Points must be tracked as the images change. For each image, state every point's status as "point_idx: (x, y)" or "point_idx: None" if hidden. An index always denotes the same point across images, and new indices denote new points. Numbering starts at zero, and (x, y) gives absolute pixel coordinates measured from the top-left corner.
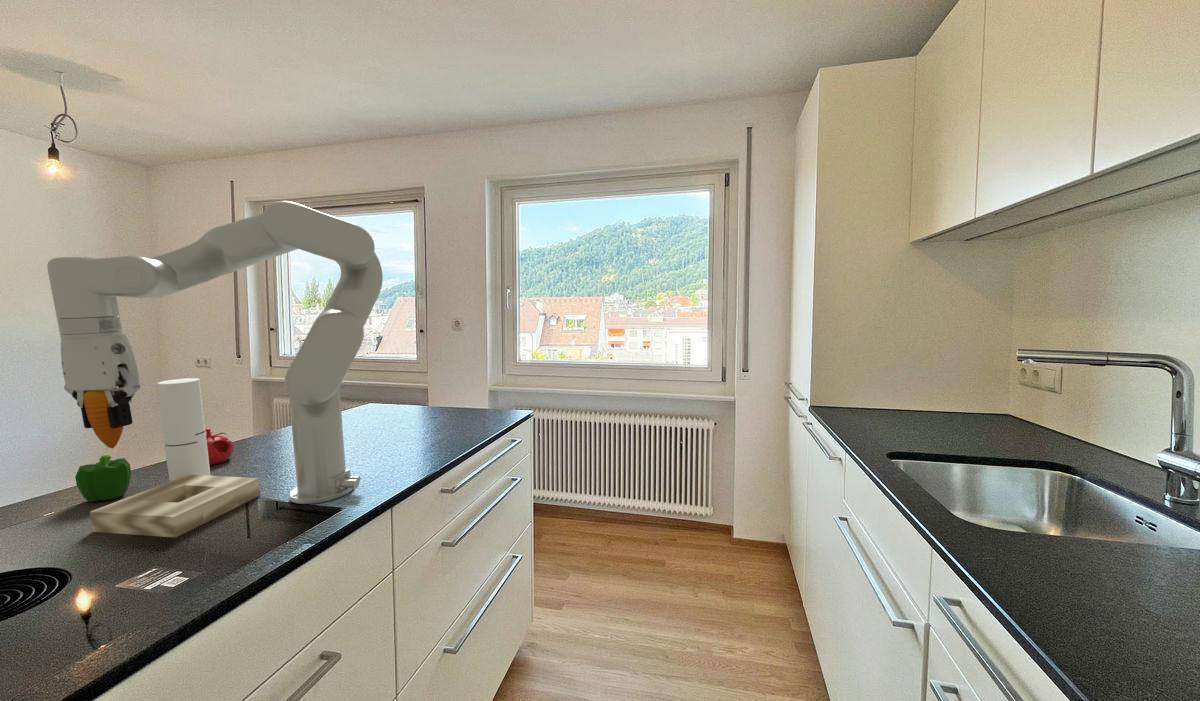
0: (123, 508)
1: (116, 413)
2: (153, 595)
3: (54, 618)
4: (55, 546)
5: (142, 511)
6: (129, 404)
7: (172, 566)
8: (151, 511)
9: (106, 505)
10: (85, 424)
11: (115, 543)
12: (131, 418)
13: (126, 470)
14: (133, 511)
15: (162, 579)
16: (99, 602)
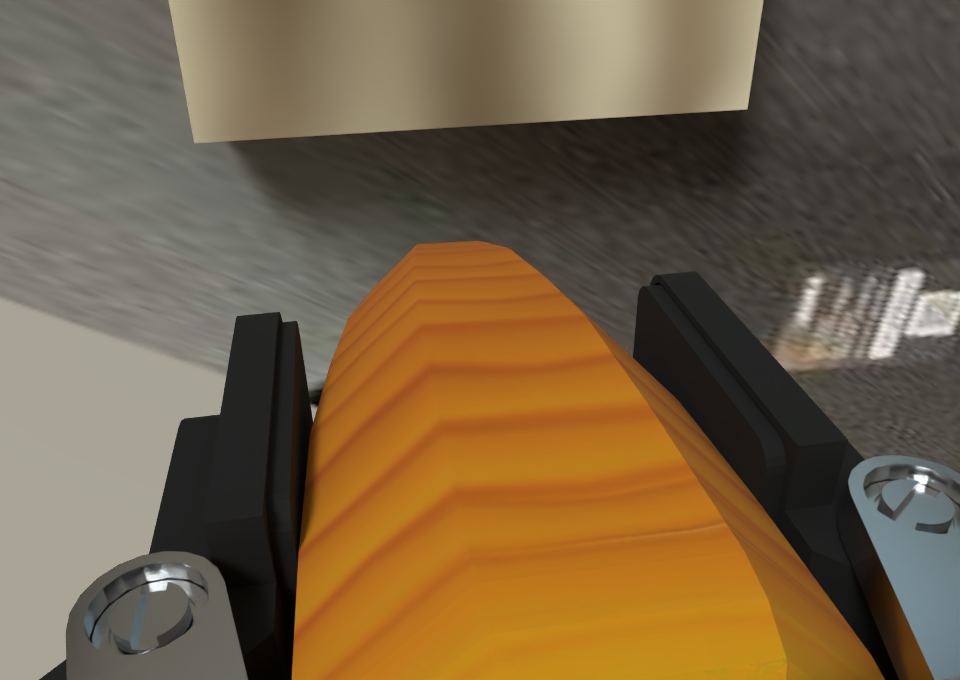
0: (351, 73)
1: None
2: (924, 373)
3: None
4: (214, 248)
5: (511, 84)
6: (829, 420)
7: (863, 256)
8: (566, 77)
9: (181, 56)
10: None
11: (467, 175)
12: (715, 299)
13: None
14: (458, 94)
15: (889, 316)
16: None
